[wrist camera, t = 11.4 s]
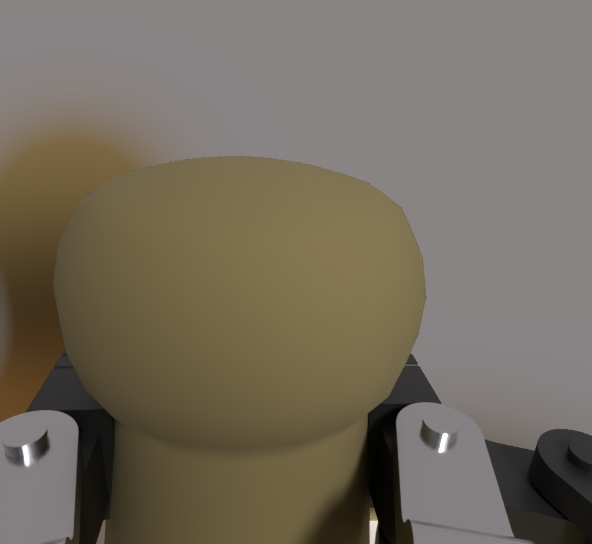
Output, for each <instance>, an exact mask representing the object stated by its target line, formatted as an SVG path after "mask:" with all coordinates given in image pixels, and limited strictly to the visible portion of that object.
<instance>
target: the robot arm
mask: <svg viewBox="0 0 592 544" xmlns="http://www.w3.org/2000/svg"><path fill="white" fill-rule="evenodd" d="M367 447H368V477H369V508H372V507H374V508H375V512H376V515H377V518H378V524H377V529H376V535H375V544H592V436H591V435H588V434H585V433H582V432H578V431H574V430H568V429H554V430H550V431H547V432H545V433H543V434H542V435H541V436H540V438H539V440H538V443H537V445H536V448H535V451H533V450H528V449H523V448H519V447H514V446H509V445H504V444H500V443H495V442H491V441H488V440H485V439H484V437H483V435H482V432H481V431H480V429H479V427H478V426H477V425H476V424H475V422H473V421H472V420H471V419H470V418H469V417H468V416H466V415H465V414H463V413H462V412H460V411H458V410H456V409H454V408H451V407H449V406H445V405H442V404H441V402H440V400H439V399H438V397H437V395H436V393H435V392H434V390H433V388H432V387H431V385H430V383H429V382H428V380H427V378H426V377H425V375H424V373H423V372H422V370H421V368H420V367H419V366H418V365H417V361H416V360H415V358H414V356H413V355H412V354H411V353H410V355H409V357H408V359H407V362H406V364H405V366H404V368H403V370H402V372H401V374H400V375H399V377H398V379H397V381H396V383H395V385H394V387H393V389H392V391H391V393H390V395H389V397H388V398H386V399H385V400H384V401H383V402H381V403H380V404H379V405H378V406H376V407H375V408H374V409H373V410H371V411H370V412H369V413H368V430H367ZM114 450H115V429H114V418H113V417H112V416H111V415H110V414H109V413H108V412H107V411H106V410H105V409H104V408H103V407H102V406H101V405H100V404H99V403H98V402H97V401H96V400H95V399H94V398H93V397H92V396H91V395H90V394H89V393H88V392H87V391H86V390H85V389H84V387H83V385H82V383H81V381H80V379H79V377H78V375H77V373H76V371H75V369H74V367H73V365H72V363H71V361H70V359H69V357H68V355H67V353H66V349H65V350H64V351H63V353H62V357H60V358H59V359H58V361H57V363H56V364H55V366H54V370H52V371H51V372H50V374H49V376H48V377H47V379H46V380H45V382H44V384H43V385H42V387H41V389H40V390H39V392H38V393H37V395H36V397H35V398H34V400H33V402H32V403H31V405H30V406H29V408H28V410H27V411H26V413H23V414H19V415H16V416H14V417H11V418H9V419H6V420H4V421H2V422H0V544H96V543H97V540H98V536H99V533H100V530H101V526H102V523H103V520H107V519H110V506H111V492H112V478H113V464H114Z"/></svg>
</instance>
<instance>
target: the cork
mask: <svg viewBox="0 0 592 544" xmlns="http://www.w3.org/2000/svg"><path fill="white" fill-rule="evenodd" d="M53 286H54V292H55V297H56V303H57V309H58V315H59V320H60V325H61V330H62V335H63V339H64V344H65V349H66V353H67V355H68V357H69V359H70V361H71V363H72V365H73V367H74V369H75V371H76V373H77V375H78V377H79V379H80V381H81V383H82V385H83V387H84V389H85V390H86V391H87V392H88V393H89V394H90V395H91V396H92V397H93V398H94V399H95V400H96V401H97V402H98V403H99V404H100V405H101V406H102V407H103V408H104V409H105V410H106V411H107V412H108V413H109V414H110V415H111V416H112V417H113V418H114V429H115V450H114V464H113V478H112V492H111V506H110V519H107V520H106V522H105V539H104V544H370V510H369V477H368V447H367V430H368V413H369V412H370V411H371V410H373V409H374V408H375V407H376V406H378V405H379V404H380V403H381V402H383V401H384V400H385V399H386V398H388V397H389V395H390V393H391V391H392V389H393V387H394V385H395V383H396V381H397V379H398V377H399V375H400V374H401V372H402V370H403V368H404V366H405V364H406V362H407V359H408V357H409V355H410V353H411V350H412V348H413V346H414V343H415V341H416V339H417V337H418V334H419V329H420V324H421V320H422V314H423V310H424V305H425V300H426V289H425V277H424V266H423V258H422V255H421V252H420V249H419V247H418V244H417V241H416V239H415V236H414V234H413V232H412V230H411V227H410V225H409V223H408V220H407V218H406V216H405V213H404V211H403V209H402V207H400V206H399V205H398V204H396V203H395V202H394V201H393V200H391V199H390V198H389V197H388V196H386V195H385V194H384V193H382V192H381V191H379V190H378V189H377V188H375V187H373V186H372V185H370V184H369V183H367V182H365V181H361V180H359V179H356V178H353V177H351V176H348V175H345V174H341V173H338V172H334V171H331V170H328V169H324V168H321V167H317V166H313V165H308V164H304V163H300V162H293V161H286V160H279V159H272V158H263V157H244V156H226V157H204V158H194V159H185V160H179V161H174V162H169V163H164V164H159V165H154V166H149V167H145V168H140V169H135V170H130V171H128V172H126V173H123V174H121V175H119V176H116V177H114V178H112V179H110V180H109V181H107V182H105V183H104V184H102V185H101V186H99V187H97V188H96V189H94V190H93V191H91V192H89V193H88V195H87V196H86V198H84V200H83V201H82V202H81V204H80V205H79V206H78V208H77V210H76V212H75V214H74V215H73V217H72V219H71V221H70V223H69V225H68V227H67V229H66V231H65V232H64V234H63V236H62V238H61V240H60V242H59V244H58V252H57V259H56V266H55V274H54V281H53Z"/></svg>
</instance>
